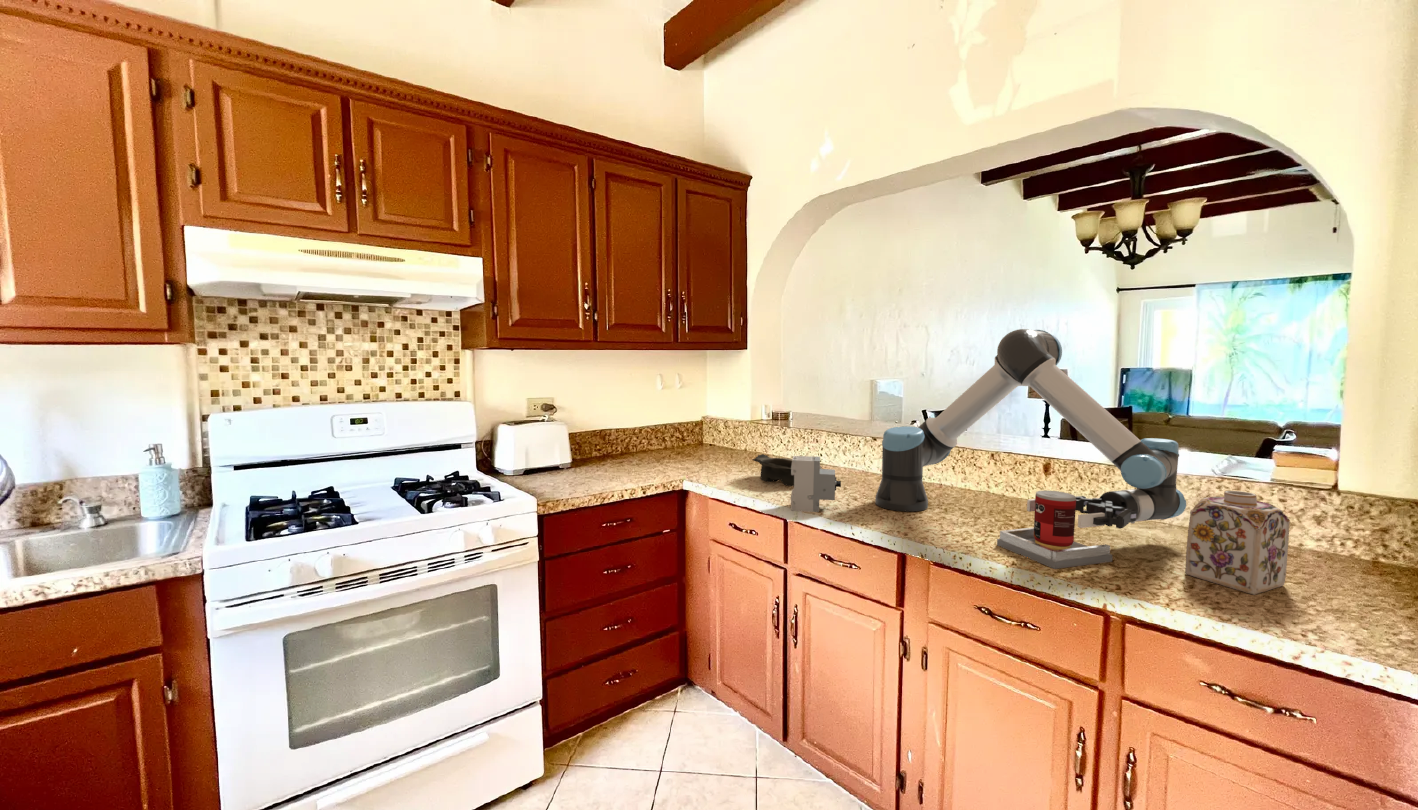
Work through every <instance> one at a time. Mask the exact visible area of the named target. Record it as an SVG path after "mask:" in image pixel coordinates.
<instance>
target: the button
mask: <svg viewBox="0 0 1418 810" xmlns="http://www.w3.org/2000/svg"><path fill="white" fill-rule="evenodd" d="M1035 543H1037V544H1039V545H1042V546H1045V547H1047V548H1050V549H1052V550H1063V549H1071V546H1067V547H1060V546H1051V545H1047V544H1043V543H1040V542H1038V541H1036V540H1035Z"/></svg>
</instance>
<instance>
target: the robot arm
mask: <svg viewBox="0 0 1418 810" xmlns="http://www.w3.org/2000/svg"><path fill="white" fill-rule="evenodd" d="M1062 347H1063V346H1062V344H1061V342H1060V340H1059V339H1058V338H1057V337H1056V336H1055V335H1054V334H1052V333H1051V332H1049V331H1046V330H1042V329H1028V328H1027V329H1026V328H1022V329H1021V328H1019V329H1015V330H1012V331H1010V332H1008V333H1006V335H1005V336H1004V337H1002V338H1001V340H1000V341H999V343H998V346H997V351H996V352H997V353H996V354H997V355H995V356H994V365H993V366H992V367H990V368H989V369H988V370H987V371H986V372H985V373H983V374H982V375H981V376H980V377H979V378H978V379H977V380H976V381H974V383H973V384H972V385H970V387H969V388H967V389H966V390H965V391H964V392H963V393H962V394H961V395H960V396H958V398H956V399H955V400H954V401H953V402H951V404H949V405H948V406H947V407H945V409H944V410H943V411H942V412H941V413H940V414H939V415H937V416H936V417H928V418H926V420H924V422H922V423H921V424H919V426H916V427H915V426H907V425H906V426H905V425H904V426H899V427H898V426H895V427H890V428H888V429H886V430H885V431H884V433H883V436H882V442H881V446H882V451H881V453H882V454H881V456H882V459H881V461H882V462H881V463H882V466H881V480H880V483H879V486H878V489H877V491H876V494H875V500H874V501H875V502H874V503H875V505H876V506H877V507H880V508H883V509H886V510H891V511H899V512H918V511H919V512H921V511H925V510H927V509H928V507H929V499H928V496H927V492H926V488H925V486H924V482H923V474H924V467H926V466H931V465H932V466H933V465H936V464H937V465H938V464H939V463H941V462H943V461H945V460H946V458H948V457H949V455H950V454H951V452H952V450H953V449H954V448H955V447H956V446H957V445H958V437H960V436H961V435H963V433H964V432H965V431H967V430H968V429H969V428H970V427H972V426H973V425H974V424H975V423H977V422H978V421H979V420H980V419H981V418H982V417H984V416H985V415H986V414H987V413H988V412H990V410H992V409H993V408H994V407H995V406H997V404H999V403H1001V401H1002V400H1004V399H1005V398H1007V396H1008V395H1009V394H1010V393H1012V392H1013V391H1014V390H1015V389H1016V388H1018V387H1030V388H1031V389H1032V390H1033V391H1035V393H1037V394H1038V396H1040V397H1041V398H1042V399H1043V400H1044V401H1045V402H1046V403H1047V404H1048V405H1049V406H1050V407H1052V408H1053V409H1054V410H1055V412H1057V413H1058V414H1059V415H1061V416H1062V418H1063V419H1065V420H1066V422H1068V423H1069V424H1070V425H1071V426H1072V427H1073V428H1075V430H1076V431H1078V433H1079V434H1080V435H1082V436H1083V437H1084V438H1085V439H1086V440H1087V441H1088V442H1089V443H1091V445H1092V446H1094V447H1095V449H1097V450H1098V451H1099V452H1100V453H1101V454H1102V455H1103V456H1104V457H1105V458H1107V460H1108V461H1110V462H1111V463H1112V464H1113V465H1114V466H1115V467H1116V468H1117V469H1118V470H1119V471H1120V474H1121V477H1122V479H1123V481H1124V482H1125V483H1126V484H1128V485H1129V486H1131V487H1133V488H1132V489H1122V490H1110V491H1106V492H1104V493H1102V494H1101V495H1100V497H1099V498H1097V497H1093V498H1088V497H1087V496H1084V495H1078V496H1076V495H1075V496H1076V511H1075V512H1077V511H1078V512H1079V513H1081V514H1078V516H1077V528H1080V529H1084V528H1093V527H1095V528H1096V527H1102V526H1103V527H1104V526H1107V527H1113V526H1115V528H1117V529H1121V530H1122V529H1123V528H1125V527H1126V526H1127V525H1128V524H1135V523H1136V522H1144V521H1156V520H1157V521H1158V520H1162V521H1163V520H1167V519H1173V518H1175V517H1179V516H1180V515H1182V514H1183V513H1184V512H1185V510H1186V507H1187V501H1186V498H1185V496H1184V494H1183V492H1181V490H1180V489H1178V488H1177V477H1178V467H1179V465H1178V464H1179V457H1180V452H1179V449H1180V448H1179V446H1180V445H1179V443H1178V442H1177V441H1176V440H1173V439H1167V438H1156V437H1154V438H1153V437H1150V438H1146V437H1145V438H1142V439H1139V438H1138V436H1136V435H1135V434H1134V433H1133V432H1132V431H1131V430H1130V429H1128V428H1127V427H1126V426H1125V425H1124V424H1123V423H1121V422H1120V421H1119V419H1117V418H1116V417H1115V416H1114V415H1112V414H1111V412H1109V411H1108V409H1105V407H1103V406H1102V405H1101V404H1100V403H1099V402H1098V401H1097V400H1095V399H1094V398H1093V397H1092V396H1091V395H1090V394H1088V392H1086V391H1085V390H1084V389H1083V388H1082V387H1081V386H1080V385H1078V383H1076V382H1075V381H1074V380H1073V379H1072V378H1070V376H1068V375H1067V374H1066V373H1065V372H1064V371H1063V370H1062V369H1060V368H1059V366H1058V364H1059V363H1060V361H1061V360H1062V356H1063V348H1062ZM1026 502H1027V503H1026V511H1027V512H1029V513H1030V512H1035V498H1032V499H1026ZM1084 508H1085V510H1084Z"/></svg>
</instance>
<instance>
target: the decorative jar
mask: <svg viewBox="0 0 1418 810" xmlns="http://www.w3.org/2000/svg"><path fill="white" fill-rule="evenodd" d="M1223 494H1224V496H1209V497H1202V498H1201V499H1200V500H1199V501H1198V502H1197V504H1195V505H1194V507H1192V509H1190V512H1189V519H1188V520H1189V521H1188V530H1187V539H1186V552H1185V553H1186V555H1185V569H1184V574H1185V575H1188V576H1190V577H1194V578H1197V579H1200V580H1203V581H1207V582H1211V583H1214V584H1216V585H1220V586H1224V587H1227V588H1230V589H1233V590H1237V591H1240V592H1243V593H1246V594H1249V595H1258V594H1260V593H1261V594H1262V593H1265V592H1267V591H1271V590H1274V589H1277V588H1280V587H1283V586H1284V585H1285V582H1286V576H1287V567H1288V551H1289V541H1290V540H1289V539H1290V537H1289V536H1290V526H1291V525H1290V523H1291V521H1290V518H1289V516H1287V514H1285V513H1284V512H1283V510H1282V509H1281V508H1278V507H1277V506H1275V505H1273V504H1271V503H1268V502H1263V501H1259V500H1258V499H1257V497H1258V496H1257V494H1255V493H1253V492H1247V491H1239V490H1226V491H1224V493H1223Z"/></svg>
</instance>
